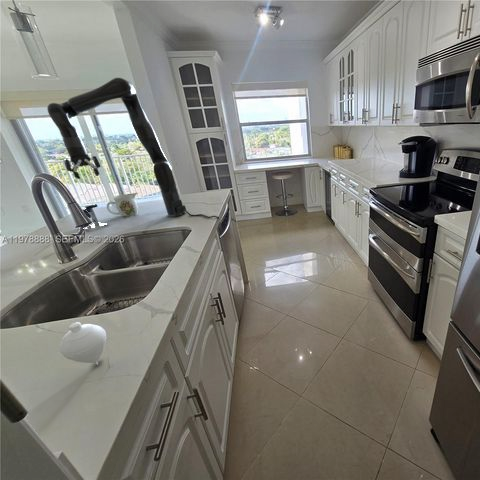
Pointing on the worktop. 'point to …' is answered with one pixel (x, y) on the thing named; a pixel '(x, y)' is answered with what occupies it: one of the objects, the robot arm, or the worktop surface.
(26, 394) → the worktop surface
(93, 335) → the spinning top
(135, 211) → the pitcher
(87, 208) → the lever
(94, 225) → the toaster bracket
